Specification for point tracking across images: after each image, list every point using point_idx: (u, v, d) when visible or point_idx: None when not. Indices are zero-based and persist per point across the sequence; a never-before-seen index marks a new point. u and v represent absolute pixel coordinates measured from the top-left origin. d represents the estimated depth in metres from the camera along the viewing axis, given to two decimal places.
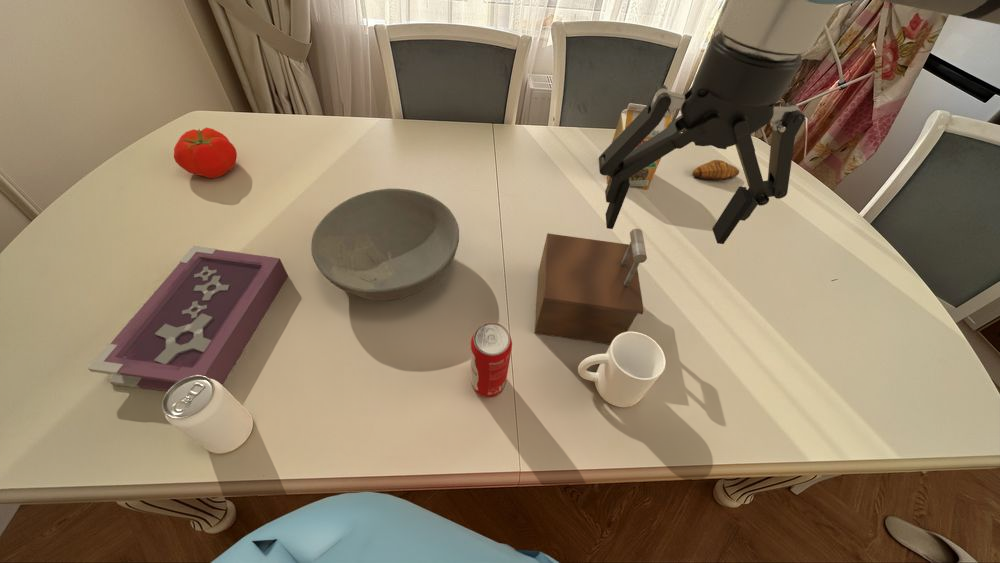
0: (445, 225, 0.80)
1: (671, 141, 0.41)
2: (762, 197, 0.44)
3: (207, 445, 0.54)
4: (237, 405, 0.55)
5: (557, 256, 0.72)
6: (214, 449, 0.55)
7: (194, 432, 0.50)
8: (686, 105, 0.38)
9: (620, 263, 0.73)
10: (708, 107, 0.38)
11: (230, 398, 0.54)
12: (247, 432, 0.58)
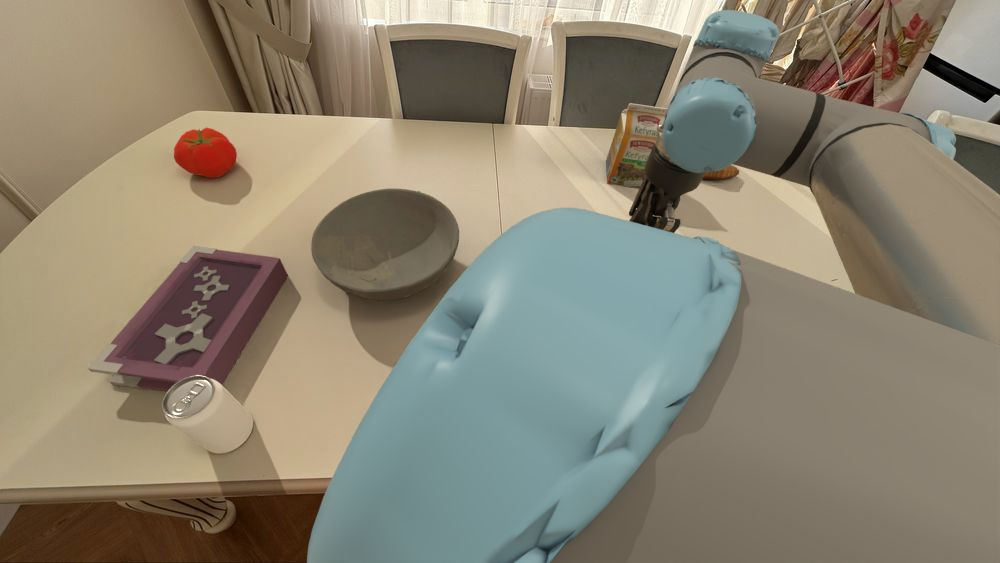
0: (445, 225, 0.80)
1: None
2: None
3: (207, 445, 0.54)
4: (237, 405, 0.55)
5: None
6: (214, 449, 0.55)
7: (194, 432, 0.50)
8: (675, 209, 0.55)
9: None
10: None
11: (230, 398, 0.54)
12: (247, 432, 0.58)
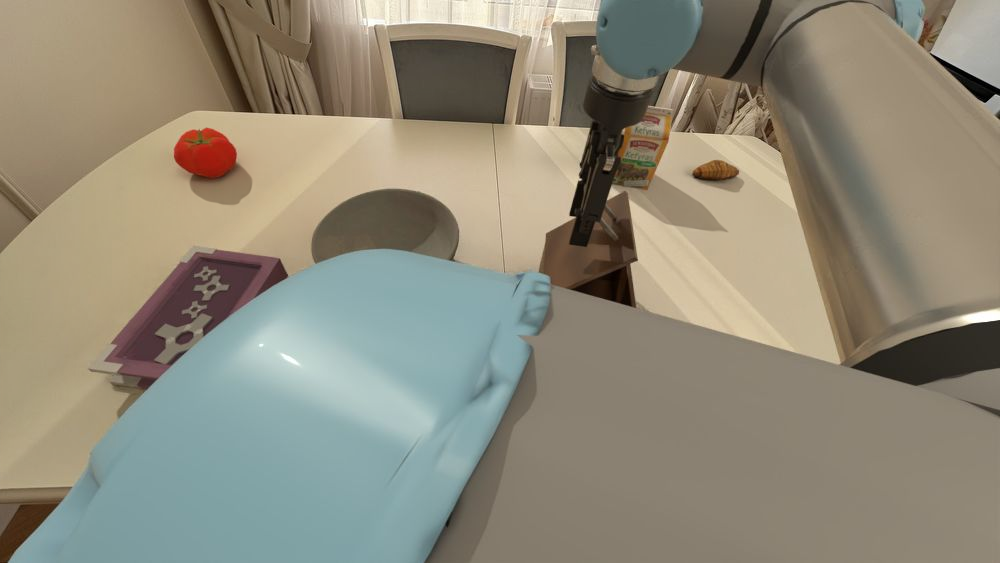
0: (445, 225, 0.80)
1: None
2: None
3: None
4: None
5: (553, 250, 0.71)
6: None
7: None
8: (617, 146, 0.49)
9: (611, 219, 0.65)
10: None
11: None
12: None
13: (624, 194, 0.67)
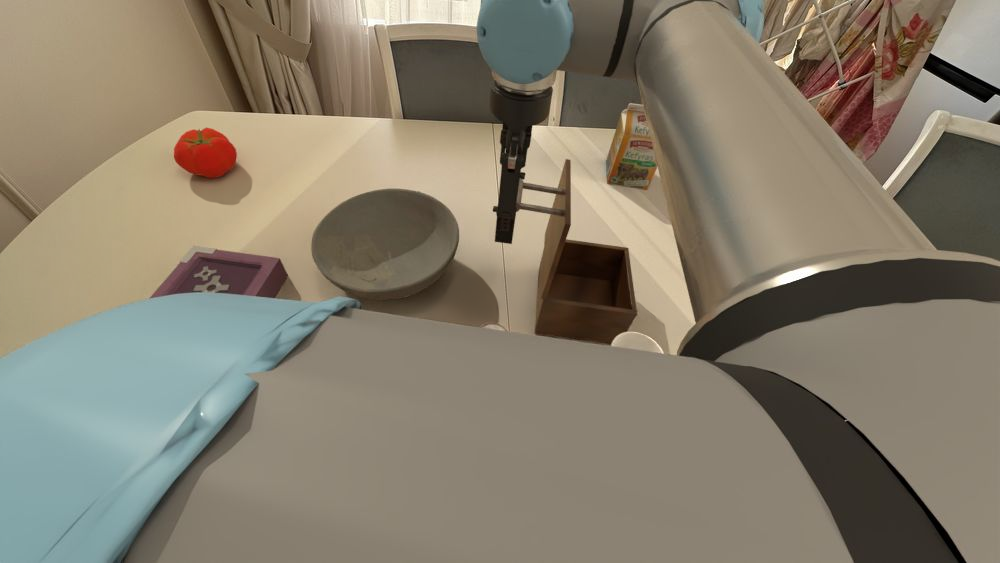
0: (445, 225, 0.80)
1: (521, 168, 0.54)
2: (521, 174, 0.63)
3: None
4: None
5: (545, 248, 0.71)
6: None
7: None
8: (521, 145, 0.50)
9: (560, 194, 0.63)
10: None
11: None
12: None
13: (565, 163, 0.64)
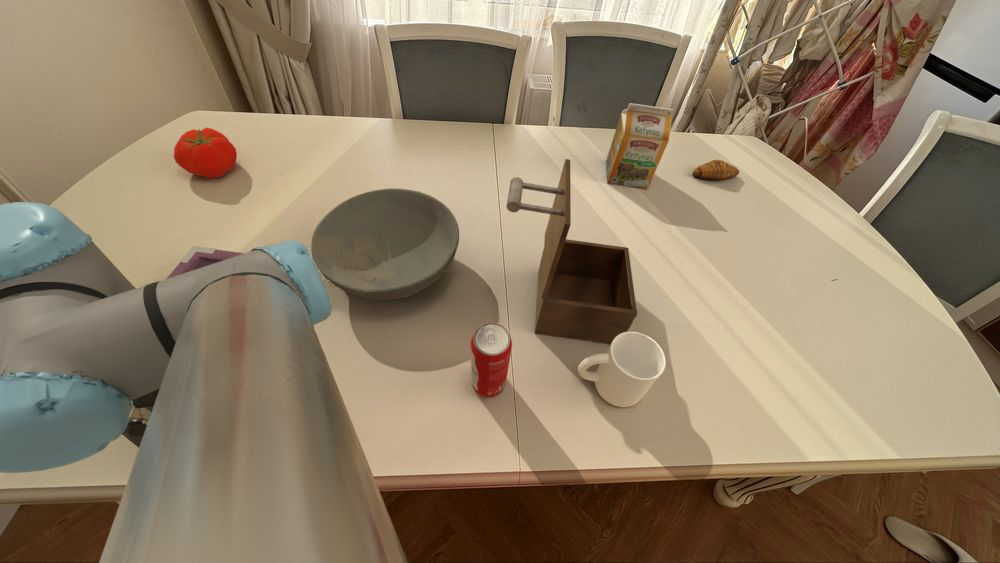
0: (445, 225, 0.80)
1: None
2: None
3: None
4: None
5: (545, 248, 0.71)
6: None
7: None
8: (141, 406, 0.42)
9: (560, 194, 0.63)
10: None
11: None
12: None
13: (565, 163, 0.64)
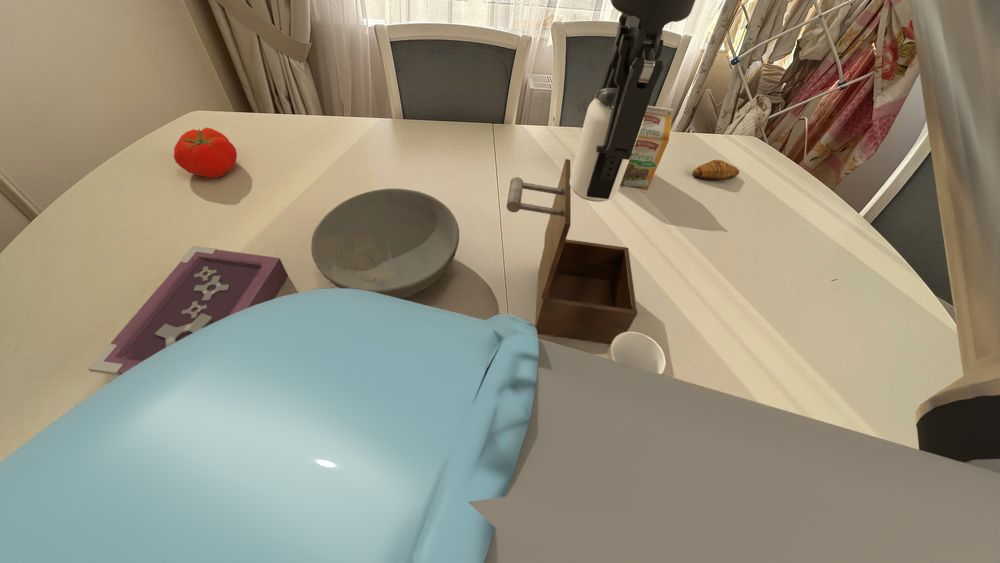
0: (445, 225, 0.80)
1: None
2: None
3: None
4: None
5: (545, 248, 0.71)
6: None
7: None
8: (656, 50, 0.37)
9: (560, 194, 0.63)
10: None
11: None
12: None
13: (565, 163, 0.64)
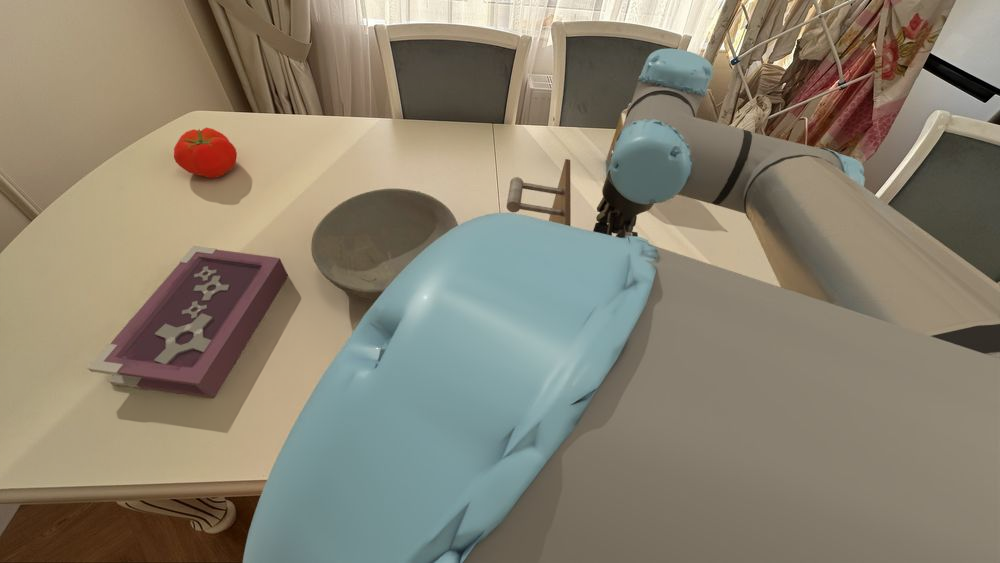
0: (445, 225, 0.80)
1: None
2: None
3: None
4: None
5: None
6: None
7: None
8: (631, 226, 0.58)
9: (560, 194, 0.63)
10: None
11: None
12: None
13: (565, 163, 0.64)
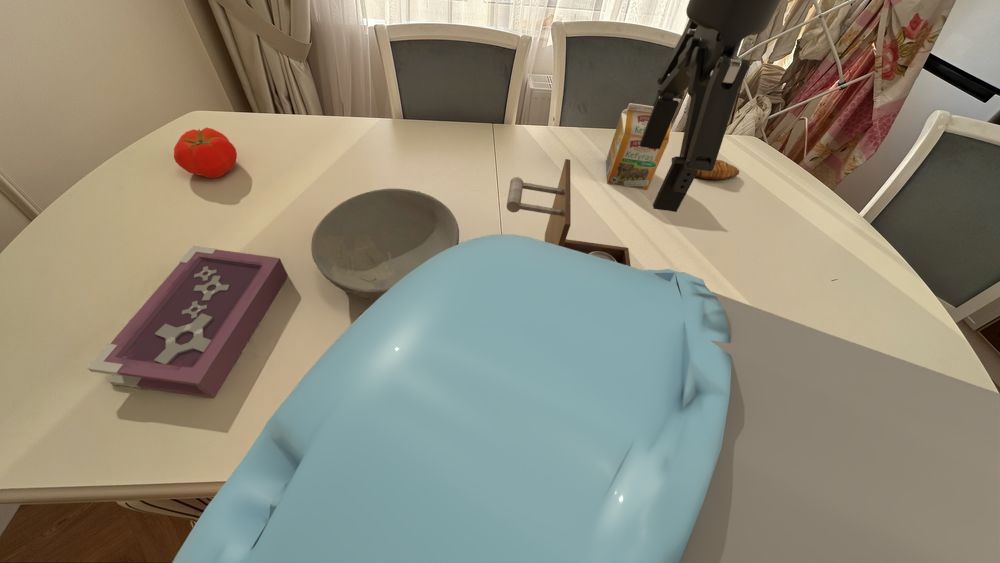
0: (445, 225, 0.80)
1: None
2: None
3: None
4: None
5: None
6: None
7: None
8: None
9: (560, 194, 0.63)
10: None
11: None
12: None
13: (565, 163, 0.64)
